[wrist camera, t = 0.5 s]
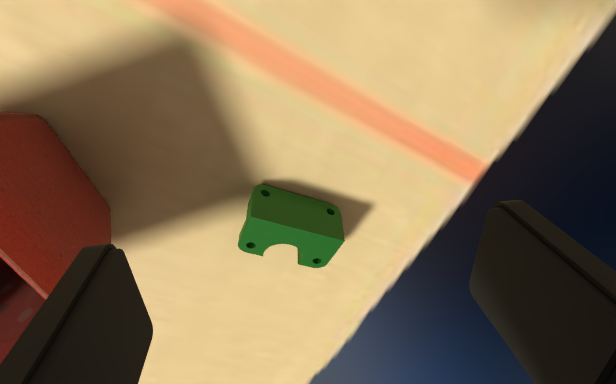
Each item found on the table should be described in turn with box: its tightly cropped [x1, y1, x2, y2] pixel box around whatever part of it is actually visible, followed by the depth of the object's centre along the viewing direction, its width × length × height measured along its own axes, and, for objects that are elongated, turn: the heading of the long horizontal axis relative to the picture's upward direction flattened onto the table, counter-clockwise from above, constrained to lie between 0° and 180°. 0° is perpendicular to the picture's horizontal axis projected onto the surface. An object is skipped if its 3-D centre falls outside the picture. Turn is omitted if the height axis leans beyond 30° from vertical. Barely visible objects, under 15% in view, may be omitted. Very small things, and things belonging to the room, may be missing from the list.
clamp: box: [238, 185, 345, 268], centre depth 41 cm, size 12×6×9 cm, turn 62°
